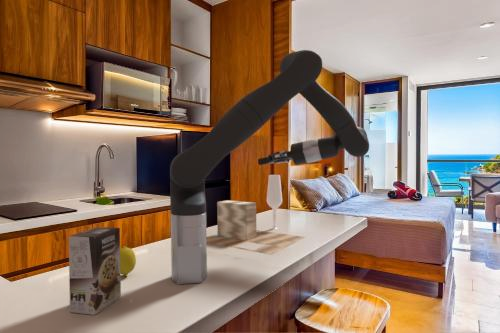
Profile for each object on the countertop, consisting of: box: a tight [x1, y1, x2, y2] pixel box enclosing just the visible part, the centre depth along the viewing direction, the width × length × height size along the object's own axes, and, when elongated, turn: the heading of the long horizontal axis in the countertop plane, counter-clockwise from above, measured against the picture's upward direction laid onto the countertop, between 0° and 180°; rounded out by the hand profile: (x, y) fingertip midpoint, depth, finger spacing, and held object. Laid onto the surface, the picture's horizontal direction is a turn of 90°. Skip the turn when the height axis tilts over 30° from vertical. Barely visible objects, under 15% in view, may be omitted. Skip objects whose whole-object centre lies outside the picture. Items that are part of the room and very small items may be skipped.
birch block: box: [216, 199, 257, 240], centre depth 126 cm, size 14×6×13 cm, turn 56°
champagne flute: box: [266, 174, 283, 230], centre depth 139 cm, size 7×7×24 cm
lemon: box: [120, 245, 137, 277], centre depth 89 cm, size 6×6×8 cm
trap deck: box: [206, 229, 306, 255], centre depth 123 cm, size 32×26×2 cm
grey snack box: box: [68, 226, 122, 316], centre depth 72 cm, size 9×6×16 cm
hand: (258, 162), depth 117 cm, fingers closed
